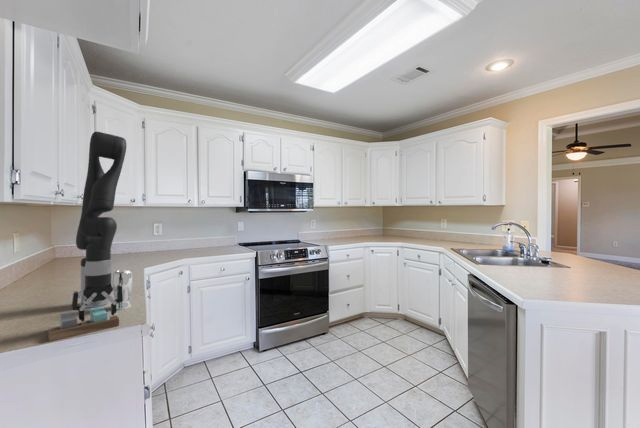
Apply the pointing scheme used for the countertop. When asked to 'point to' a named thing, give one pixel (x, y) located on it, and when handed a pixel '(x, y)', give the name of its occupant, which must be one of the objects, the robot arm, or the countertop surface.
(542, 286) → the countertop surface
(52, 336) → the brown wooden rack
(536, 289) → the countertop surface
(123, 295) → the beer glass
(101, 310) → the teal plug
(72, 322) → the charcoal plug
